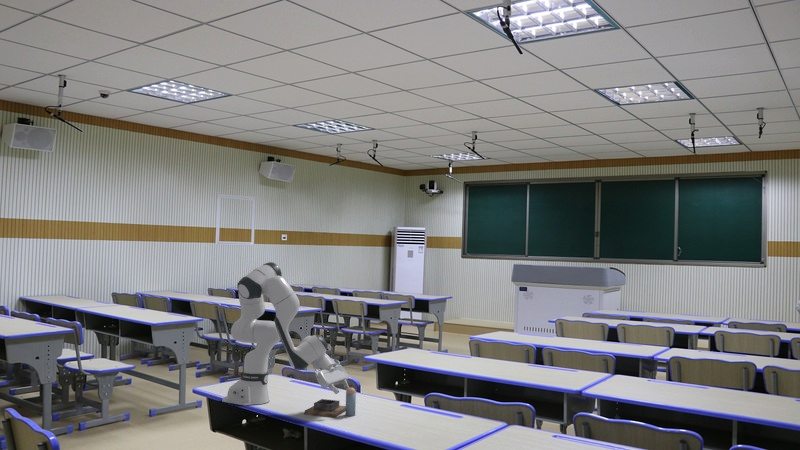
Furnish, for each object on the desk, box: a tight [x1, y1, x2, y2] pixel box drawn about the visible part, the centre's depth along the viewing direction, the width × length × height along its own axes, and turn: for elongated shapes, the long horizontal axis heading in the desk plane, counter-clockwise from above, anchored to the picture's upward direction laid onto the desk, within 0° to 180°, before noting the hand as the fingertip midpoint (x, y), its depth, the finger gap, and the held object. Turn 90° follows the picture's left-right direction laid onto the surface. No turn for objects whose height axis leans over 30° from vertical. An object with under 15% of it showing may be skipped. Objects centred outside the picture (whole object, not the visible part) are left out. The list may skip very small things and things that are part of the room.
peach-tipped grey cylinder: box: [344, 387, 357, 417], centre depth 278 cm, size 4×4×12 cm
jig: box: [304, 398, 346, 419], centre depth 282 cm, size 15×15×4 cm
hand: (342, 391), depth 279 cm, fingers open, 8 cm apart
